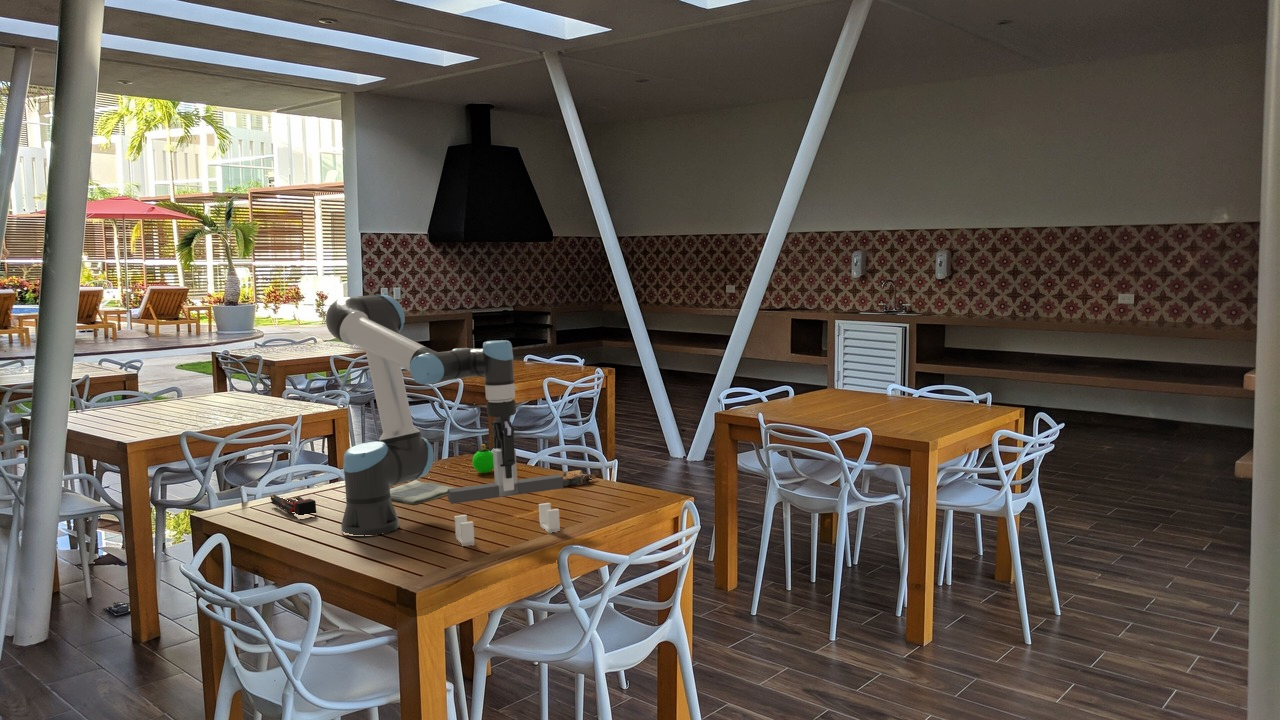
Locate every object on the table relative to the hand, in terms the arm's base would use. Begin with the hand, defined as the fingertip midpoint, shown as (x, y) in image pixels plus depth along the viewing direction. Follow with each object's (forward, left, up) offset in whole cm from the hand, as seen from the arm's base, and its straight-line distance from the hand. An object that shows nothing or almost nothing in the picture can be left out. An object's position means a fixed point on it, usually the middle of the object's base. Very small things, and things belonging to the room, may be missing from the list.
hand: (506, 488), depth 244 cm
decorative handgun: (+28, +50, -13) cm, 59 cm away
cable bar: (0, 0, -2) cm, 2 cm away
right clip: (+11, 0, -13) cm, 17 cm away
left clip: (-12, 0, -13) cm, 17 cm away
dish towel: (-13, +58, -14) cm, 61 cm away
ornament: (+13, +77, -13) cm, 79 cm away
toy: (-50, +62, -13) cm, 81 cm away
